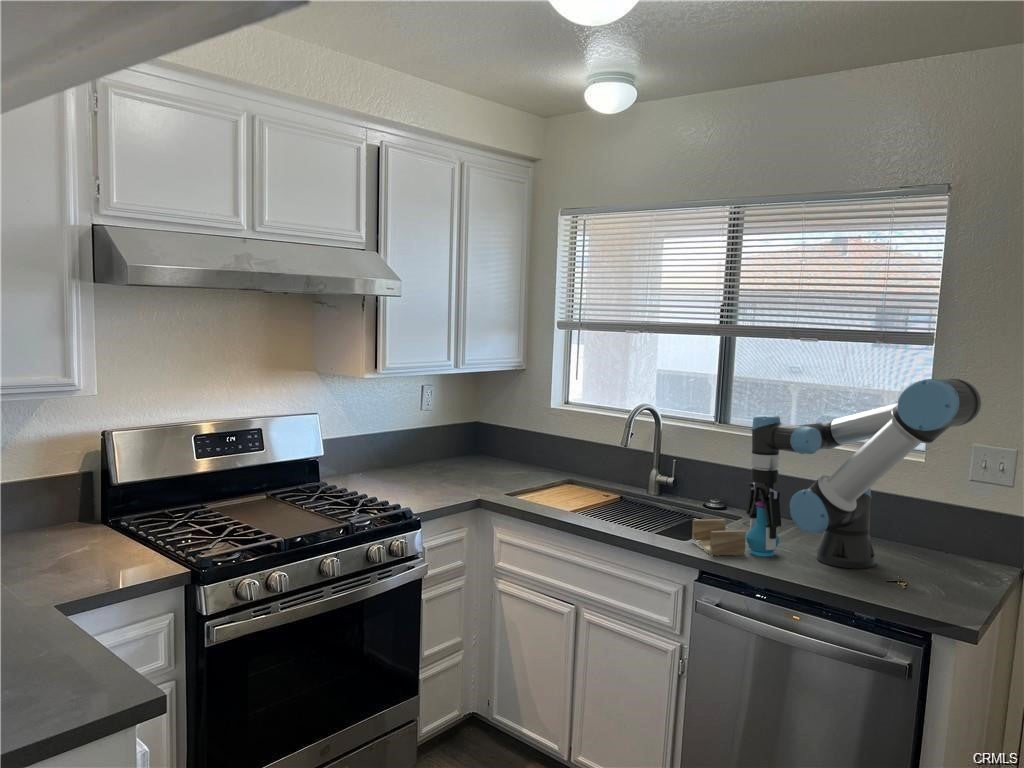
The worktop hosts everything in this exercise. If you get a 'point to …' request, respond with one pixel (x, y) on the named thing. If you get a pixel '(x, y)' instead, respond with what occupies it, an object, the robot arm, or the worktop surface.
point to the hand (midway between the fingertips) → (762, 544)
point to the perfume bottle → (759, 534)
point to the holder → (718, 537)
